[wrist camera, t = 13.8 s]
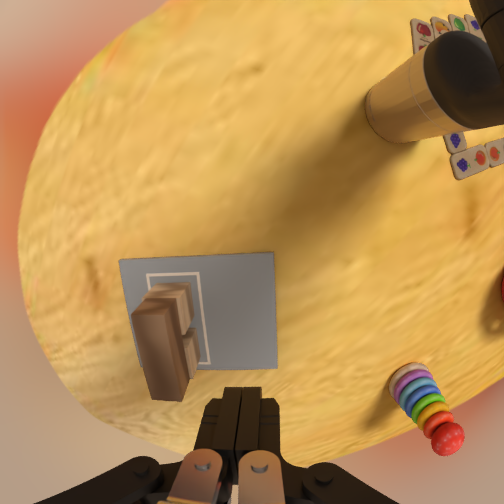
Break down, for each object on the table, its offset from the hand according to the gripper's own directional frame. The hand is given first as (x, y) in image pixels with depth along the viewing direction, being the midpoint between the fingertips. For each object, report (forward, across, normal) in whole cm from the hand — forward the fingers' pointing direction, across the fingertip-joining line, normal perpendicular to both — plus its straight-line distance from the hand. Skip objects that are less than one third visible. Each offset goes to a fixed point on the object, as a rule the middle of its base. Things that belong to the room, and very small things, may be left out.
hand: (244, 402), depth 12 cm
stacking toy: (+31, -24, +25) cm, 47 cm away
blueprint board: (+30, +10, +10) cm, 33 cm away
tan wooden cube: (+29, +13, +7) cm, 33 cm away
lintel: (+23, +12, +10) cm, 28 cm away
